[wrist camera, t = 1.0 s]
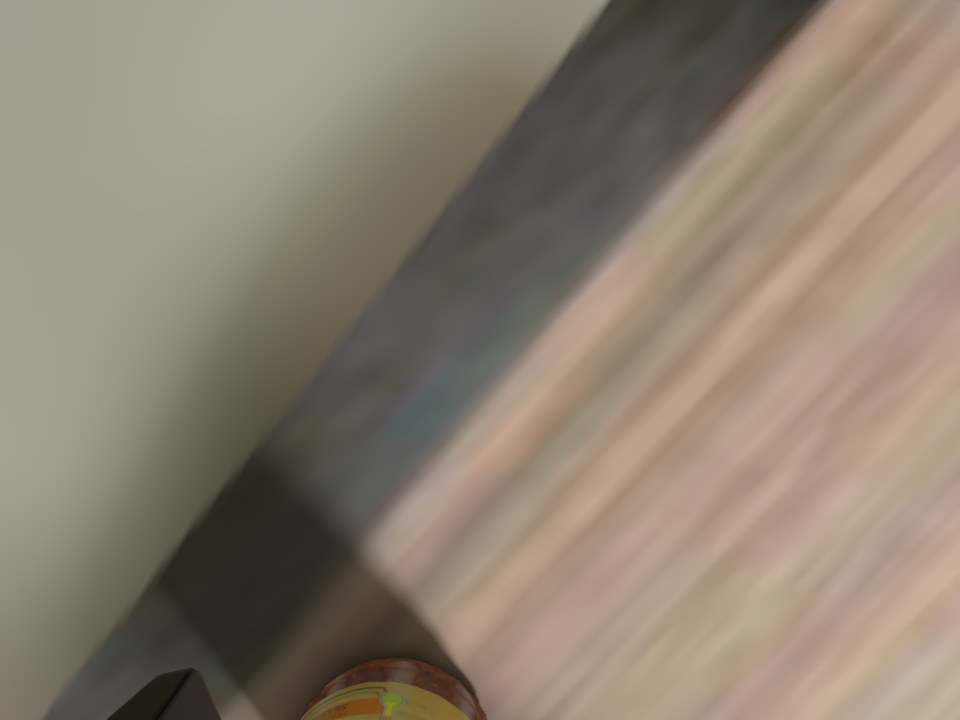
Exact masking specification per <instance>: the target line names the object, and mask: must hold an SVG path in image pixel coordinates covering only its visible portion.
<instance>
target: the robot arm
mask: <svg viewBox="0 0 960 720" xmlns="http://www.w3.org/2000/svg"><path fill="white" fill-rule="evenodd" d="M106 720H221V718H220V716H219V713H218V711H217V709H216V706H215V704H214V702H213V699H212V697H211V695H210V692H209V690H208V688H207V685H206V683H205V681H204V679H203V677H202V675H201V674H200V673H199V672H198V671H197V670H195V669H192V668H189V669H184V670H179V671H174V672H169V673H165V674H161V675H159V676H157V677H155V678H154V679H153V680H152V681H151V682H149V683H148V684H147V685H146V686H145V687H144V688H142V689H141V690H140V691H139V692H138V693H137V694H135V695H134V696H133V697H132V698H131V699H130V700H128V701H127V702H126V703H125V704H124V705H123V706H122V707H120V708H119V709H118V710H117V711H116V712H115V713H113V714H112V715H111V716H110V717H109V718H108V719H106Z"/></svg>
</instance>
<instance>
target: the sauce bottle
mask: <svg viewBox="0 0 960 720" xmlns="http://www.w3.org/2000/svg"><path fill="white" fill-rule="evenodd" d="M300 720H487V718H486V715H485V713H484V711H483V710H482V708H481V707H480V706H479V704H478V702H477V701H476V699H475V697H474V695H472V694H471V693H470V692H469V691H468V690H467V689H466V688H465V687H464V685H463V684H462V683H460V682H459V680H458V679H457V678H455V677H452V676H450V675H448V674H447V673H446V672H445V671H443V670H442V669H439V668H437V667H435V666H432V665H430V664H427V663H425V662H421V661H418V660H414V659H411V658H393V657H392V658H384V659H375V660H372V661H369V662H366V663H363V664H361V665H358V666H356V667H353V668H352V669H350V670H348V671H346V672H344V673H343V674H341V675H339V676H337V677H336V678H335V679H334V680H333V681H331V682H329V683H328V684H326V685H325V686H324V688H323V690H322V691H321V692H320V693H319V695H318V696H316V697H315V698H314V699H313V700H312V701H311V703H310V704H309V706H308V708H307V710H306V712H305V714H304V716H303V717H302V718H301V719H300Z"/></svg>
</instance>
